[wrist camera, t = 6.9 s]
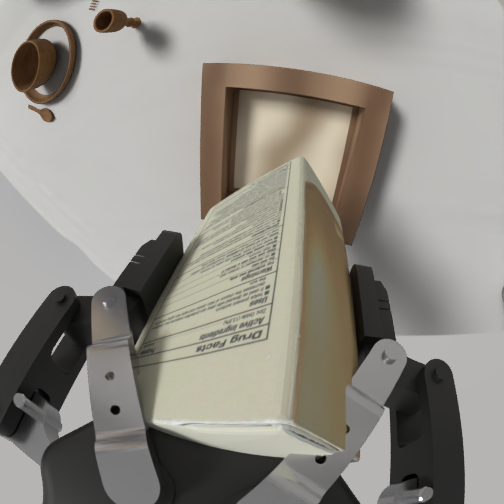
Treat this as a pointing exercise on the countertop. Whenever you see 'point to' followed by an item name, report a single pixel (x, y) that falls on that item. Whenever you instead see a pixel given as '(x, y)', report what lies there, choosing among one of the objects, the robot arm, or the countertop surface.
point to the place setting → (55, 56)
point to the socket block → (290, 132)
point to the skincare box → (256, 325)
